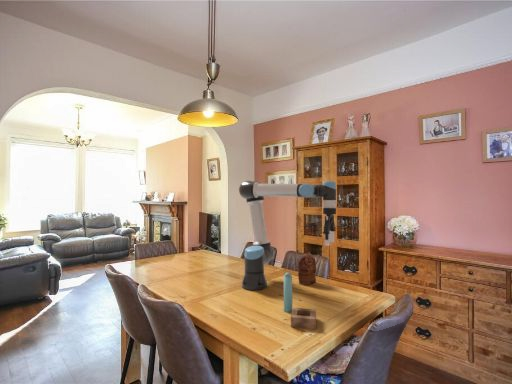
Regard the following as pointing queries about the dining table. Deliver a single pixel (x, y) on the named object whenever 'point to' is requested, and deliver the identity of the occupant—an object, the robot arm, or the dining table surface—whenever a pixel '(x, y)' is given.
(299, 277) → the wooden figurine
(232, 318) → the dining table surface
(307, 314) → the brown open box
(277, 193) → the robot arm
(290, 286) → the teal long bar
